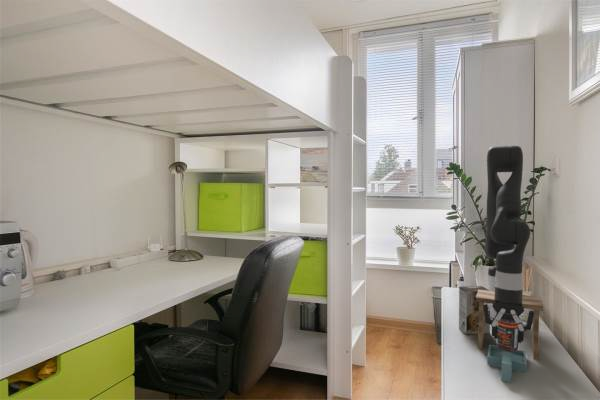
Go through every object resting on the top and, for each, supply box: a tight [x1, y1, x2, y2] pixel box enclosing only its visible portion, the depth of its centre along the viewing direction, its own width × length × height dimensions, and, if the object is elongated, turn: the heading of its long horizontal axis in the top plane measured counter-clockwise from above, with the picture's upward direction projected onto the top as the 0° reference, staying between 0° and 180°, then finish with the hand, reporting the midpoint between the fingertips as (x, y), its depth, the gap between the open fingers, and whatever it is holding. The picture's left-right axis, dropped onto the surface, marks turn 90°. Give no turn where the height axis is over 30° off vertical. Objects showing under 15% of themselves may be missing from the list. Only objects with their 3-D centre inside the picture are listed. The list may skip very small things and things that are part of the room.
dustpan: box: [486, 343, 528, 383], centre depth 113 cm, size 19×10×5 cm, turn 151°
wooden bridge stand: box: [476, 290, 544, 361], centre depth 127 cm, size 11×19×17 cm, turn 61°
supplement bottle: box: [495, 313, 519, 351], centre depth 117 cm, size 6×6×11 cm
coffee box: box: [458, 285, 491, 335], centre depth 142 cm, size 9×6×16 cm
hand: (507, 339), depth 117 cm, fingers closed on supplement bottle, 6 cm apart
